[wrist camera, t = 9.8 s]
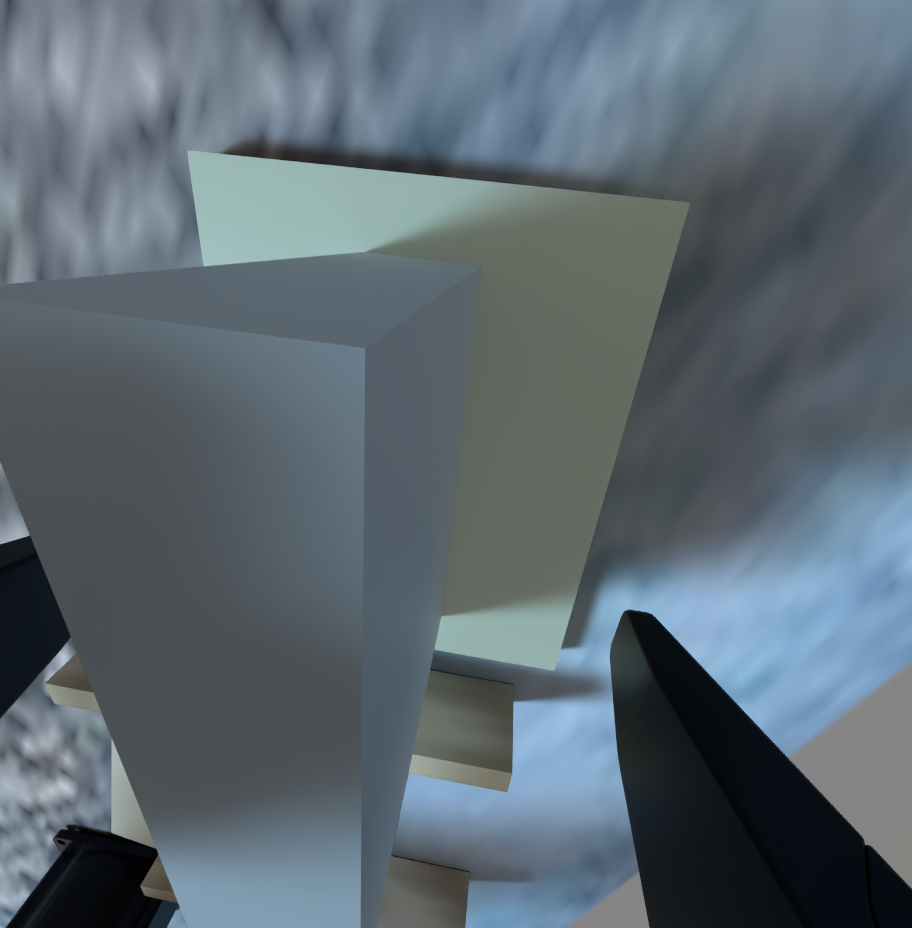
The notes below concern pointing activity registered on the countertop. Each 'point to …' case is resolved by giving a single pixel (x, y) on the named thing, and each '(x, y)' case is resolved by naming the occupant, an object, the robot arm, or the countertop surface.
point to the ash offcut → (126, 806)
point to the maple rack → (434, 755)
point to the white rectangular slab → (249, 549)
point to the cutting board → (491, 355)
